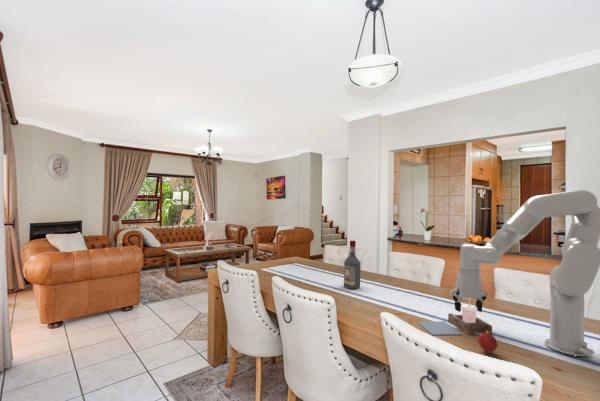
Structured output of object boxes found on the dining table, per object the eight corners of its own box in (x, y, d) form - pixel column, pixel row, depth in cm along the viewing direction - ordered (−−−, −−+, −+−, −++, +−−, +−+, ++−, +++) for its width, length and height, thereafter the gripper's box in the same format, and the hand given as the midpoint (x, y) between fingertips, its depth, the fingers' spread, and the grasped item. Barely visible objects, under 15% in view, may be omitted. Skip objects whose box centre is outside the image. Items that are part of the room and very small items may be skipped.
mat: (462, 335, 120) (462, 334, 120) (432, 335, 119) (432, 334, 119) (444, 322, 133) (444, 321, 133) (417, 322, 132) (417, 321, 132)
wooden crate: (492, 334, 121) (492, 325, 121) (467, 334, 121) (467, 325, 121) (470, 321, 135) (470, 313, 135) (448, 321, 135) (448, 313, 135)
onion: (479, 347, 110) (479, 326, 110) (497, 352, 106) (498, 330, 106) (476, 353, 105) (477, 330, 105) (496, 358, 101) (496, 335, 102)
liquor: (350, 284, 194) (351, 239, 194) (361, 287, 187) (362, 241, 187) (341, 286, 188) (342, 240, 188) (352, 290, 181) (353, 242, 181)
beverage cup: (457, 325, 130) (458, 294, 130) (467, 323, 132) (468, 292, 132) (470, 331, 124) (470, 298, 124) (480, 329, 126) (480, 297, 126)
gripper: (482, 270, 133) (481, 307, 133) (445, 269, 132) (444, 307, 131) (494, 274, 125) (493, 314, 125) (455, 273, 124) (454, 313, 124)
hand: (468, 310), depth 128 cm, fingers open, 9 cm apart
